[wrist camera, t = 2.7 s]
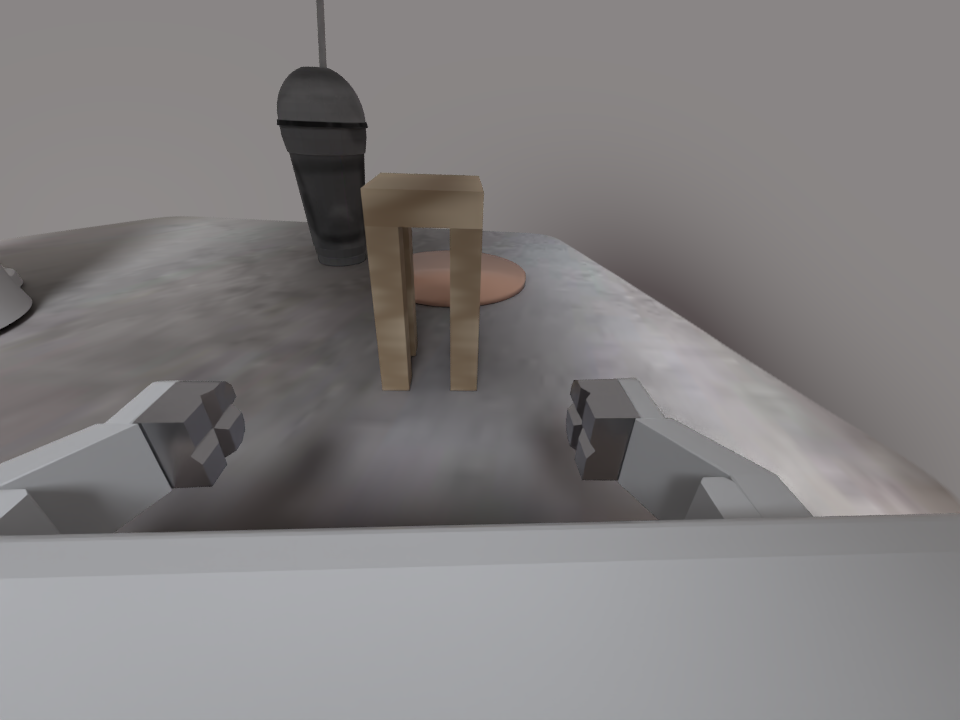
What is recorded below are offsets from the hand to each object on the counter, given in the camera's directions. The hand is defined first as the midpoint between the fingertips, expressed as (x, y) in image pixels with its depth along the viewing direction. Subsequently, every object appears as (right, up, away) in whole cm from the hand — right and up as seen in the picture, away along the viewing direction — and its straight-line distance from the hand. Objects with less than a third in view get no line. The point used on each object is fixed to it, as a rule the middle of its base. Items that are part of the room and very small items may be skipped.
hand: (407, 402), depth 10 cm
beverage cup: (-12, +11, +31) cm, 35 cm away
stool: (-1, +1, +14) cm, 14 cm away
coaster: (-1, +8, +27) cm, 28 cm away
